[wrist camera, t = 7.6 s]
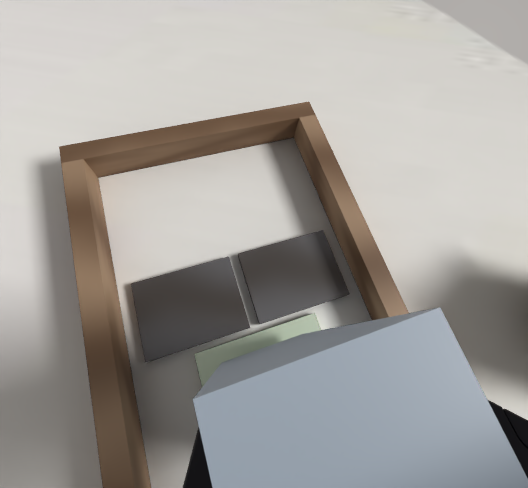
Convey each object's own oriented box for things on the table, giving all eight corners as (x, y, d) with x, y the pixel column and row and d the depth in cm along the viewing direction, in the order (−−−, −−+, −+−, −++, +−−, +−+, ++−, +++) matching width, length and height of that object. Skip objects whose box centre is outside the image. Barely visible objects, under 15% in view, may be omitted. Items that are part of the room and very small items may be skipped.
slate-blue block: (334, 424, 14) (605, 632, 4) (247, 461, 13) (296, 862, 3) (302, 333, 15) (440, 307, 5) (221, 362, 15) (193, 398, 4)
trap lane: (476, 508, 15) (511, 532, 13) (152, 688, 12) (137, 755, 10) (302, 122, 22) (309, 101, 20) (76, 166, 19) (59, 146, 17)
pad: (352, 421, 16) (355, 423, 15) (224, 477, 14) (224, 480, 14) (313, 313, 17) (314, 312, 17) (195, 353, 16) (194, 354, 15)
